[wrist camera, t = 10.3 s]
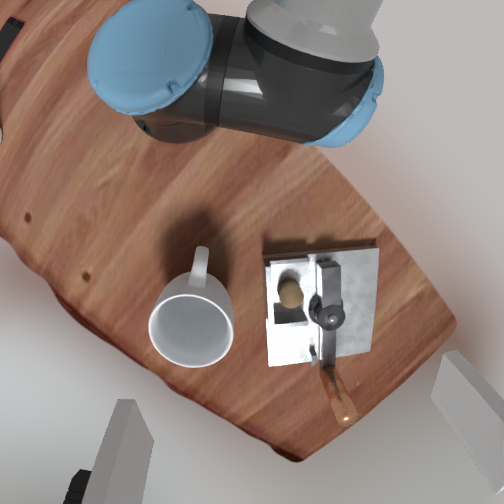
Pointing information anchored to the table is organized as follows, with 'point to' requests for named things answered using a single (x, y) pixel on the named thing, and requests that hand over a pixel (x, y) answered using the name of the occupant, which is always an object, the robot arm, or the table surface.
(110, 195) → the table surface
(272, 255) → the grey flat slab fixture
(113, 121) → the table surface
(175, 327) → the mug
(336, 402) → the lever
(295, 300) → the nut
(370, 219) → the table surface
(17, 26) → the smartphone
